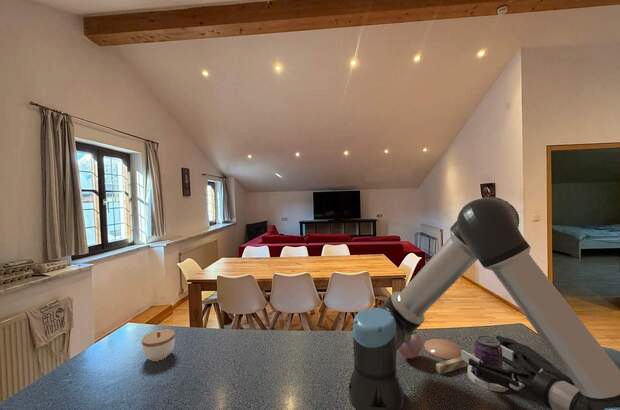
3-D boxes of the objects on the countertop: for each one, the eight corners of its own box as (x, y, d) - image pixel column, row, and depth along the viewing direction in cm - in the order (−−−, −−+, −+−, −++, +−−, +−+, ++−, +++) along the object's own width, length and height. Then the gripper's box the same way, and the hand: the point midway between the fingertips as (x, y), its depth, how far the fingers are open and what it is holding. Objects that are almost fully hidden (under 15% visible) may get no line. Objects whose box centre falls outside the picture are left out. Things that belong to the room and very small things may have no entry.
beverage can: (494, 371, 88) (493, 334, 88) (507, 387, 81) (507, 346, 81) (470, 371, 89) (470, 334, 89) (482, 386, 82) (481, 346, 82)
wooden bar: (439, 374, 88) (439, 366, 88) (436, 371, 89) (435, 363, 89) (481, 361, 94) (481, 354, 94) (477, 359, 95) (477, 351, 95)
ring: (504, 397, 77) (504, 392, 77) (460, 377, 86) (460, 372, 86) (516, 380, 84) (516, 375, 84) (474, 363, 93) (474, 358, 93)
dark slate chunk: (529, 387, 82) (529, 372, 81) (482, 347, 104) (482, 334, 103) (581, 386, 82) (581, 370, 81) (523, 346, 103) (523, 333, 103)
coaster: (454, 364, 93) (454, 363, 93) (417, 348, 103) (417, 347, 103) (469, 350, 101) (469, 348, 101) (434, 336, 111) (434, 335, 111)
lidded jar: (174, 361, 99) (173, 335, 99) (139, 368, 95) (138, 341, 95) (176, 346, 109) (175, 322, 109) (145, 352, 105) (144, 328, 105)
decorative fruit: (400, 348, 103) (400, 321, 103) (424, 354, 99) (423, 327, 98) (392, 361, 96) (392, 332, 95) (417, 368, 91) (417, 338, 91)
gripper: (522, 424, 64) (448, 370, 84) (587, 396, 72) (505, 353, 92) (522, 393, 64) (447, 346, 84) (587, 368, 72) (505, 331, 92)
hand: (477, 349), depth 88 cm, fingers open, 12 cm apart
